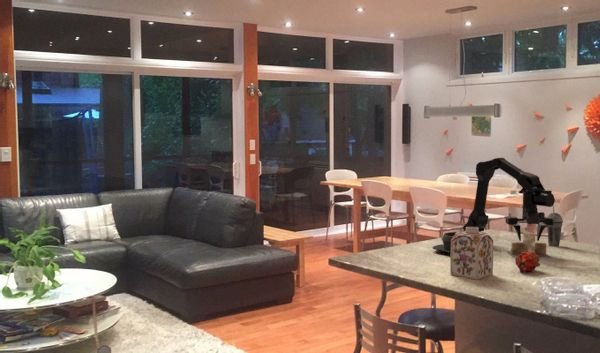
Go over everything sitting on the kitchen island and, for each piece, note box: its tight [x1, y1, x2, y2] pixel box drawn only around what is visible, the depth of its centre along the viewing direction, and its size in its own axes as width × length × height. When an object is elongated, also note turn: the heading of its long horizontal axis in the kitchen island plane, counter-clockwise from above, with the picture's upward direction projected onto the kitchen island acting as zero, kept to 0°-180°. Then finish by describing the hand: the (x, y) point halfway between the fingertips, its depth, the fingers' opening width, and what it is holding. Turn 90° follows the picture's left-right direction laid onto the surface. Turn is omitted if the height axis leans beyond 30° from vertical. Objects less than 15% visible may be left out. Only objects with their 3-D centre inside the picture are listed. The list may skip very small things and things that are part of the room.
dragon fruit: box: [514, 250, 541, 273], centre depth 239 cm, size 8×8×12 cm
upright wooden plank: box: [522, 231, 536, 252], centre depth 268 cm, size 2×12×9 cm, turn 174°
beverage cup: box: [546, 205, 564, 248], centre depth 289 cm, size 7×7×20 cm
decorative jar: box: [449, 227, 494, 281], centre depth 233 cm, size 12×12×18 cm
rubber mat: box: [506, 250, 553, 259], centre depth 268 cm, size 16×13×1 cm
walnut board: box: [510, 241, 547, 255], centre depth 268 cm, size 14×2×5 cm, turn 84°
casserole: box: [432, 231, 458, 255], centre depth 274 cm, size 25×19×8 cm
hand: (528, 240), depth 268 cm, fingers open, 7 cm apart
